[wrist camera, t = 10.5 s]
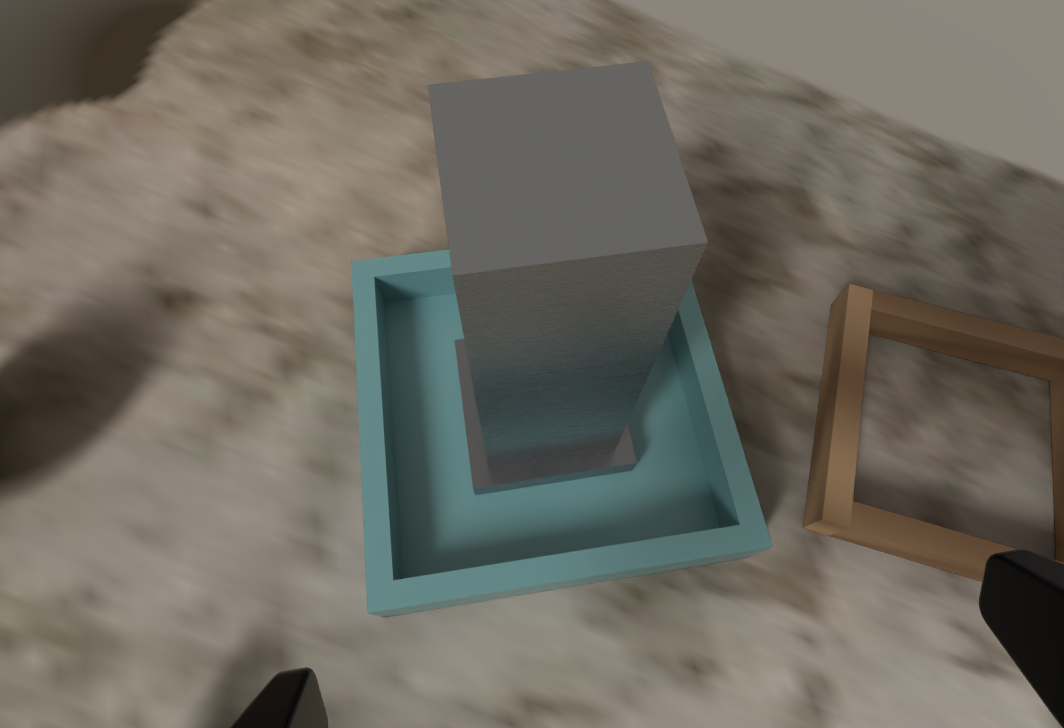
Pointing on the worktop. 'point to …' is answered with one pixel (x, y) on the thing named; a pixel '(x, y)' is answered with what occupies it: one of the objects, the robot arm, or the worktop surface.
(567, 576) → the parts tray
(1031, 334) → the socket
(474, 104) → the plate
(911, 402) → the worktop surface
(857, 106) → the worktop surface
